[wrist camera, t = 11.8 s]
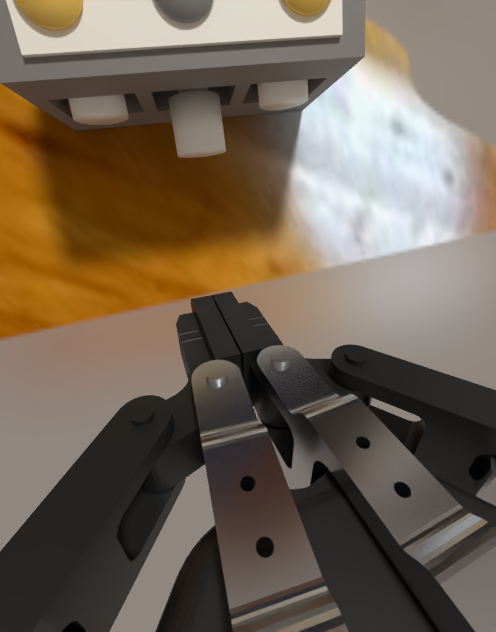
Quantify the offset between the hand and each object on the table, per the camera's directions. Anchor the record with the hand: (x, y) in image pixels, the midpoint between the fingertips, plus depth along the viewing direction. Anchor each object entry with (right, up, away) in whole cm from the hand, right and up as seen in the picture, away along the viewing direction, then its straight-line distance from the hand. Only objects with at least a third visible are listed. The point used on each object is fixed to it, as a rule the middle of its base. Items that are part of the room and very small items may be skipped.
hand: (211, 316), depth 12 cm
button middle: (-3, +16, +12) cm, 20 cm away
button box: (-4, +21, +15) cm, 26 cm away
